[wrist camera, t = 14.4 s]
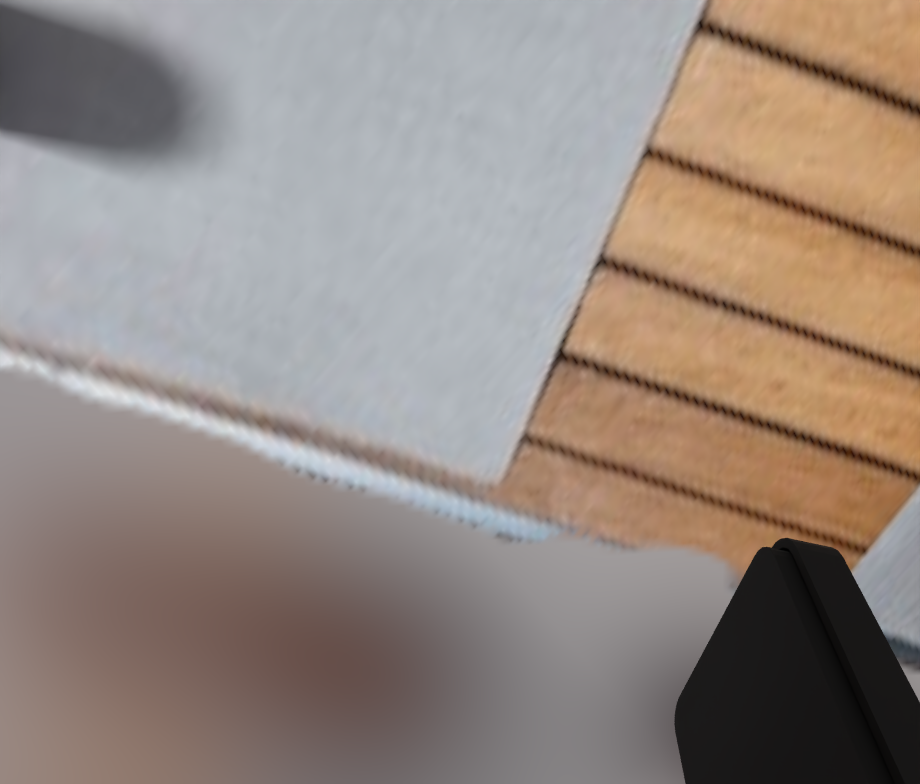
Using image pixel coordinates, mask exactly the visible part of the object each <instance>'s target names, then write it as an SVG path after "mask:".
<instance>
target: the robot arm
mask: <svg viewBox="0 0 920 784" xmlns="http://www.w3.org/2000/svg"><path fill="white" fill-rule="evenodd" d="M675 732H676V737H677V742H678V747H679V753H680V757H681V763H682V768H683V772H684V778H685V783H686V784H920V702H919V700H918V698H917V696H916V695H915V693H914V691H913V689H912V687H911V685H910V683H909V681H908V680H907V677H906V676H905V674H904V672H903V670H902V668H901V666H900V664H899V662H898V660H897V658H896V657H895V655H894V653H893V651H892V649H891V647H890V645H889V643H888V641H887V640H886V638H885V636H884V634H883V632H882V630H881V628H880V626H879V624H878V622H877V621H876V619H875V617H874V615H873V613H872V611H871V609H870V607H869V605H868V603H867V602H866V600H865V598H864V596H863V594H862V592H861V590H860V588H859V586H858V585H857V583H856V581H855V579H854V577H853V575H852V573H851V571H850V569H849V567H848V566H847V564H846V562H845V560H844V558H843V556H842V555H841V554H840V553H839V551H838V550H836V549H834V548H832V547H827V546H823V545H818V544H813V543H808V542H804V541H799V540H794V539H789V538H782V539H780V540H778V541H777V542H776V543H775V544H774V545H773V547H772V548H770V547H762V548H761V549H760V550H758V552H757V553H756V555H755V556H754V558H753V560H752V562H751V564H750V566H749V567H748V569H747V571H746V573H745V575H744V577H743V579H742V581H741V582H740V584H739V586H738V588H737V590H736V592H735V594H734V596H733V597H732V599H731V601H730V603H729V605H728V607H727V609H726V611H725V613H724V614H723V616H722V618H721V620H720V622H719V624H718V626H717V627H716V629H715V631H714V633H713V635H712V637H711V639H710V641H709V642H708V644H707V646H706V648H705V650H704V652H703V654H702V656H701V657H700V659H699V661H698V663H697V665H696V667H695V668H694V671H693V672H692V674H691V676H690V678H689V680H688V682H687V683H686V685H685V687H684V689H683V691H682V693H681V695H680V697H679V699H678V702H677V705H676V711H675Z"/></svg>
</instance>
